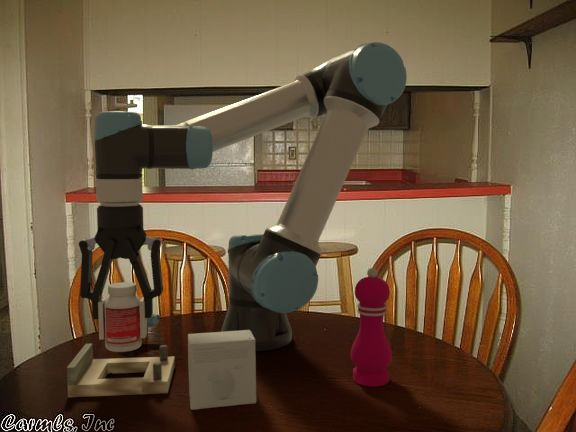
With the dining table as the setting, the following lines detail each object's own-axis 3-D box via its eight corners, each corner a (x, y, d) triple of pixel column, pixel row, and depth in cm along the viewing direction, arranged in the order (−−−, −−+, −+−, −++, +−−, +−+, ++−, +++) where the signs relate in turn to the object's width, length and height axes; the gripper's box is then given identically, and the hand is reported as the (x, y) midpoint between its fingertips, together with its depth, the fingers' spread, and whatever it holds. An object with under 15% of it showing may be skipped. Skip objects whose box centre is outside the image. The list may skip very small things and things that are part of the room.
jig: (174, 366, 104) (174, 340, 104) (167, 393, 92) (167, 363, 92) (86, 370, 103) (85, 343, 102) (68, 397, 91) (66, 367, 90)
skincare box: (250, 388, 95) (250, 328, 94) (256, 404, 88) (256, 339, 87) (188, 393, 92) (187, 332, 91) (190, 410, 86) (188, 344, 85)
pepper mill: (394, 375, 100) (396, 265, 98) (388, 390, 93) (390, 273, 92) (355, 370, 103) (356, 263, 101) (346, 385, 96) (347, 270, 94)
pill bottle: (146, 349, 96) (145, 286, 95) (111, 355, 93) (109, 290, 92) (135, 339, 101) (134, 279, 100) (100, 345, 98) (99, 283, 97)
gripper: (179, 202, 99) (181, 328, 101) (68, 202, 97) (72, 331, 99) (175, 205, 92) (177, 341, 94) (54, 206, 90) (60, 345, 92)
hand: (123, 336), depth 97 cm, fingers closed on pill bottle, 6 cm apart
